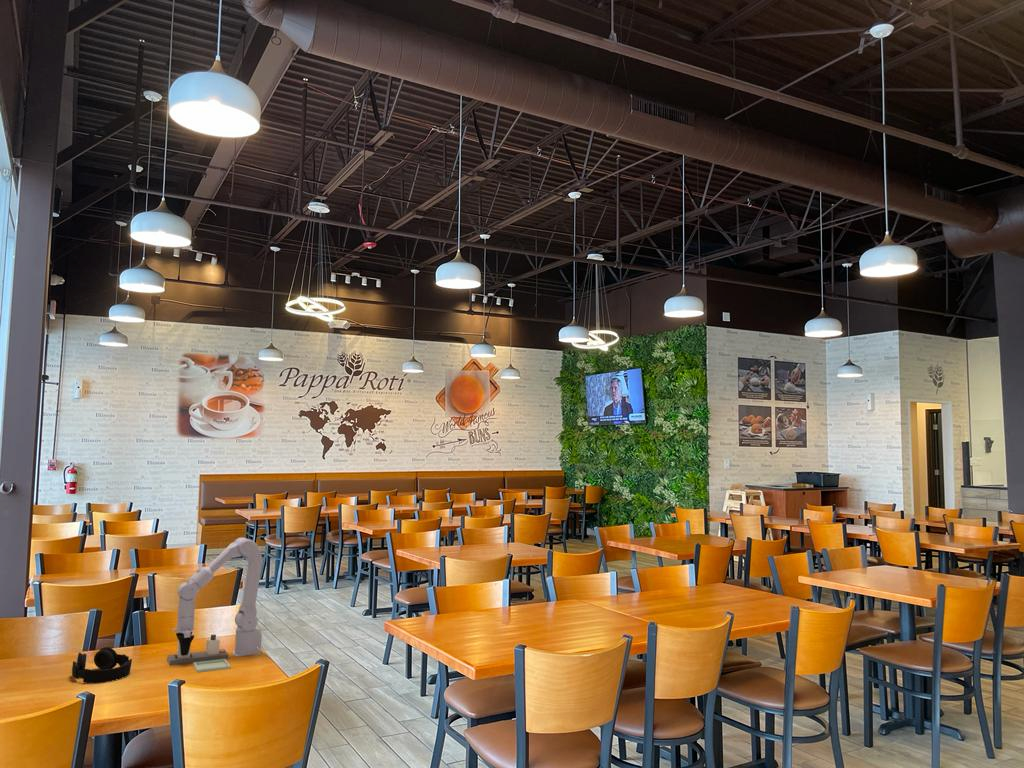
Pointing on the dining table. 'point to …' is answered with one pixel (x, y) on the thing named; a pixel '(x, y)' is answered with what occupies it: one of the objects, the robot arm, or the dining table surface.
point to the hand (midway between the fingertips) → (183, 653)
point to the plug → (180, 652)
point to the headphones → (102, 666)
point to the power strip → (202, 654)
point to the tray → (211, 665)
